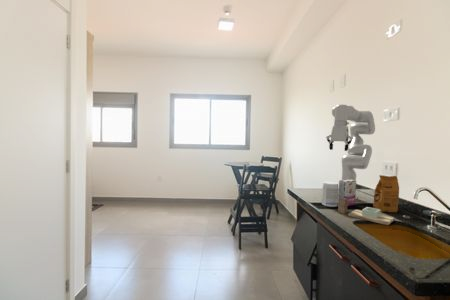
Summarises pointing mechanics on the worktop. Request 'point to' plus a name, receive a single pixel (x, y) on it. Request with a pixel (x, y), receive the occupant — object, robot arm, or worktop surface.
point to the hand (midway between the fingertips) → (338, 150)
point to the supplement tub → (330, 194)
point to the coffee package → (387, 194)
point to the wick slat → (342, 205)
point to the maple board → (381, 219)
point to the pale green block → (371, 212)
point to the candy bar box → (347, 191)
